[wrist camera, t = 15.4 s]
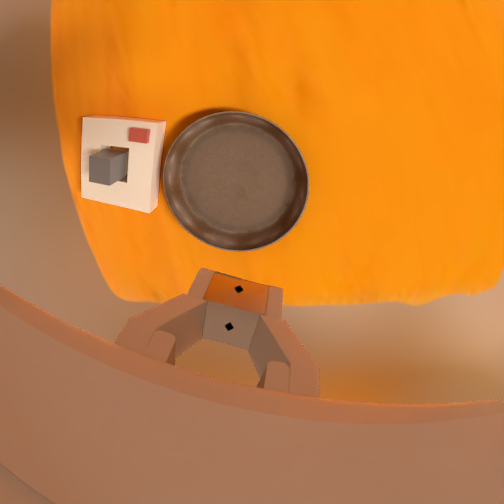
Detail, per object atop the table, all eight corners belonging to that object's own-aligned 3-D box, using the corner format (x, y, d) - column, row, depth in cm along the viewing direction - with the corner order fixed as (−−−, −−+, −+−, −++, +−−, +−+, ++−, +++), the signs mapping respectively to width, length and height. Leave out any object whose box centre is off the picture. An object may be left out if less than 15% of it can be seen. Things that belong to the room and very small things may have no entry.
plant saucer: (282, 257, 46) (281, 269, 43) (163, 222, 45) (155, 230, 42) (327, 135, 35) (330, 138, 32) (185, 97, 34) (176, 98, 32)
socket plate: (94, 115, 36) (79, 118, 33) (166, 121, 36) (155, 123, 33) (91, 191, 44) (79, 198, 40) (157, 206, 43) (147, 215, 40)
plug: (115, 146, 39) (89, 155, 33) (135, 148, 39) (110, 158, 33) (113, 168, 41) (88, 181, 35) (133, 172, 41) (109, 185, 35)
